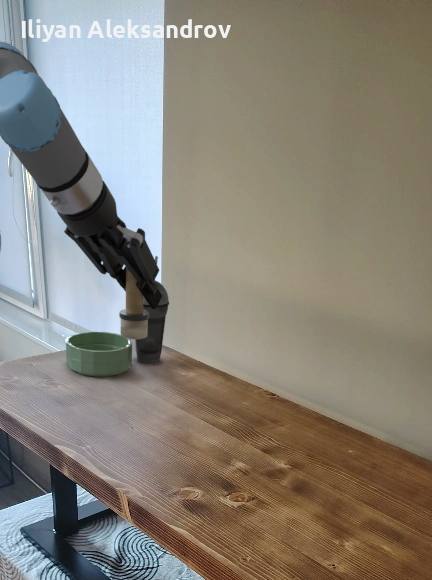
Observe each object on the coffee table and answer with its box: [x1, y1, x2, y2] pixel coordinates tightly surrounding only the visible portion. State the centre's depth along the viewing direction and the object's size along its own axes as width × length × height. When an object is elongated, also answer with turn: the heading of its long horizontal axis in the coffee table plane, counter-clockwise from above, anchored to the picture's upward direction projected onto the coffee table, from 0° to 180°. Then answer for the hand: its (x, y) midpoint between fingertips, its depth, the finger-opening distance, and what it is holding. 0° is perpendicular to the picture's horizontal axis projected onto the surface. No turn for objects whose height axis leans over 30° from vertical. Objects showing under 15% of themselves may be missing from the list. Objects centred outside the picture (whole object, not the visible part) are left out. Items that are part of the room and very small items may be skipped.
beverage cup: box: [134, 255, 170, 365], centre depth 119 cm, size 7×7×20 cm
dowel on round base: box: [119, 266, 149, 340], centre depth 100 cm, size 5×5×15 cm
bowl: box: [65, 331, 133, 377], centre depth 117 cm, size 12×12×5 cm
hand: (148, 300), depth 104 cm, fingers closed on dowel on round base, 3 cm apart
